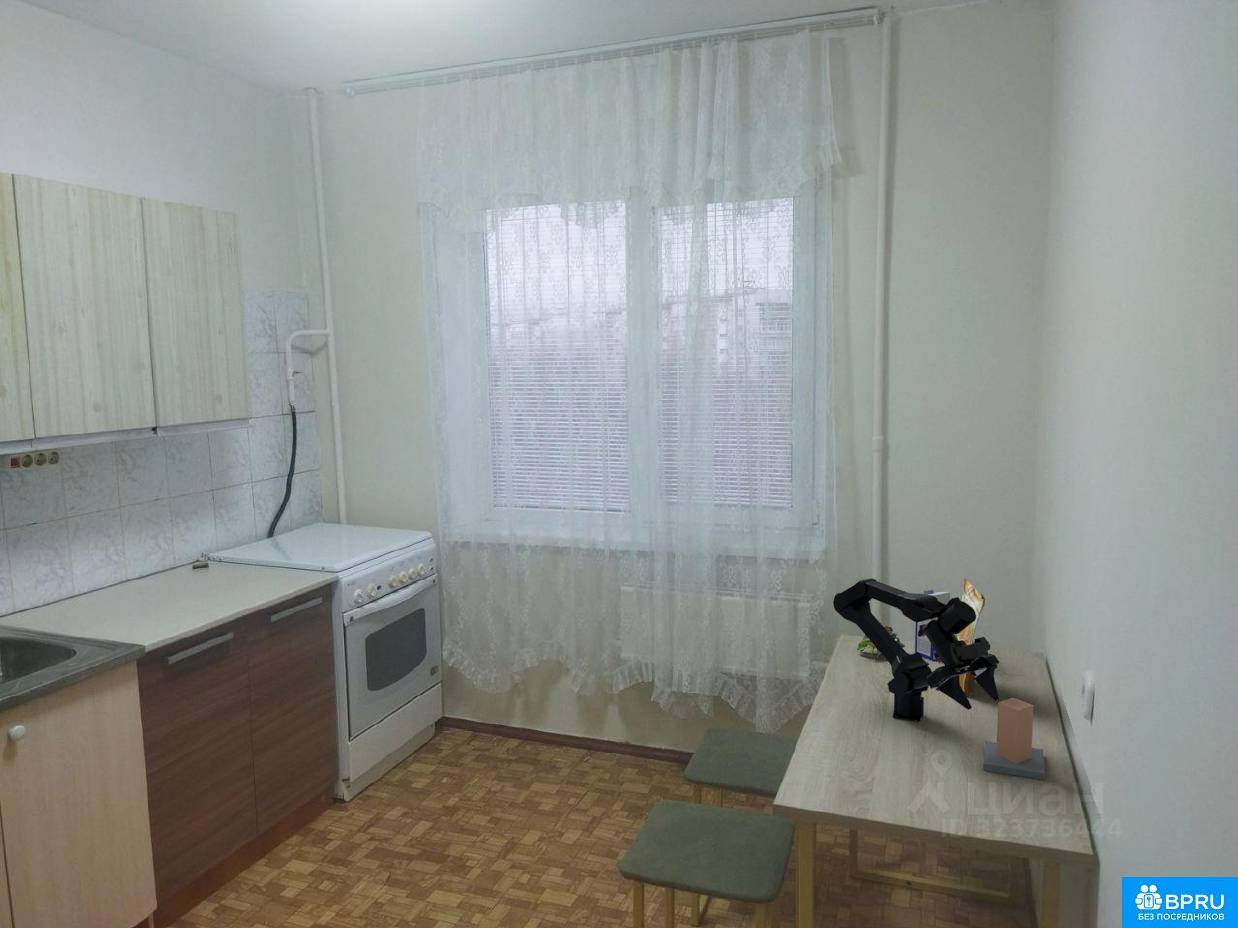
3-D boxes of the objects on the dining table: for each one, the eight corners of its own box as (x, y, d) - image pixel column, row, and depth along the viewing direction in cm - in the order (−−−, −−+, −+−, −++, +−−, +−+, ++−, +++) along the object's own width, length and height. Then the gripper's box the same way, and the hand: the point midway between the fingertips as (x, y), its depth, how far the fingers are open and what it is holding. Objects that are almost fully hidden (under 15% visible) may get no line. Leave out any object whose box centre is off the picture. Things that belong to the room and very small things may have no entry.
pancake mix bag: (972, 674, 242) (975, 576, 239) (982, 700, 224) (986, 595, 221) (946, 672, 244) (949, 575, 241) (955, 698, 226) (958, 593, 222)
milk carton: (931, 660, 253) (933, 594, 251) (914, 654, 259) (915, 589, 257) (949, 656, 257) (950, 591, 254) (931, 650, 263) (933, 586, 260)
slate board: (983, 769, 186) (983, 763, 186) (984, 746, 197) (984, 740, 197) (1044, 780, 181) (1045, 773, 181) (1042, 755, 192) (1043, 749, 192)
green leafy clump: (885, 670, 262) (911, 640, 259) (876, 674, 252) (903, 644, 249) (856, 644, 267) (881, 615, 264) (846, 647, 257) (872, 617, 254)
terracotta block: (996, 754, 190) (998, 702, 189) (1011, 749, 192) (1013, 697, 191) (1016, 763, 186) (1018, 710, 184) (1031, 758, 188) (1033, 705, 187)
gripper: (938, 633, 193) (978, 697, 185) (993, 620, 202) (1034, 680, 194) (910, 657, 201) (947, 719, 193) (964, 643, 210) (1002, 702, 202)
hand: (983, 704), depth 195 cm, fingers open, 9 cm apart
